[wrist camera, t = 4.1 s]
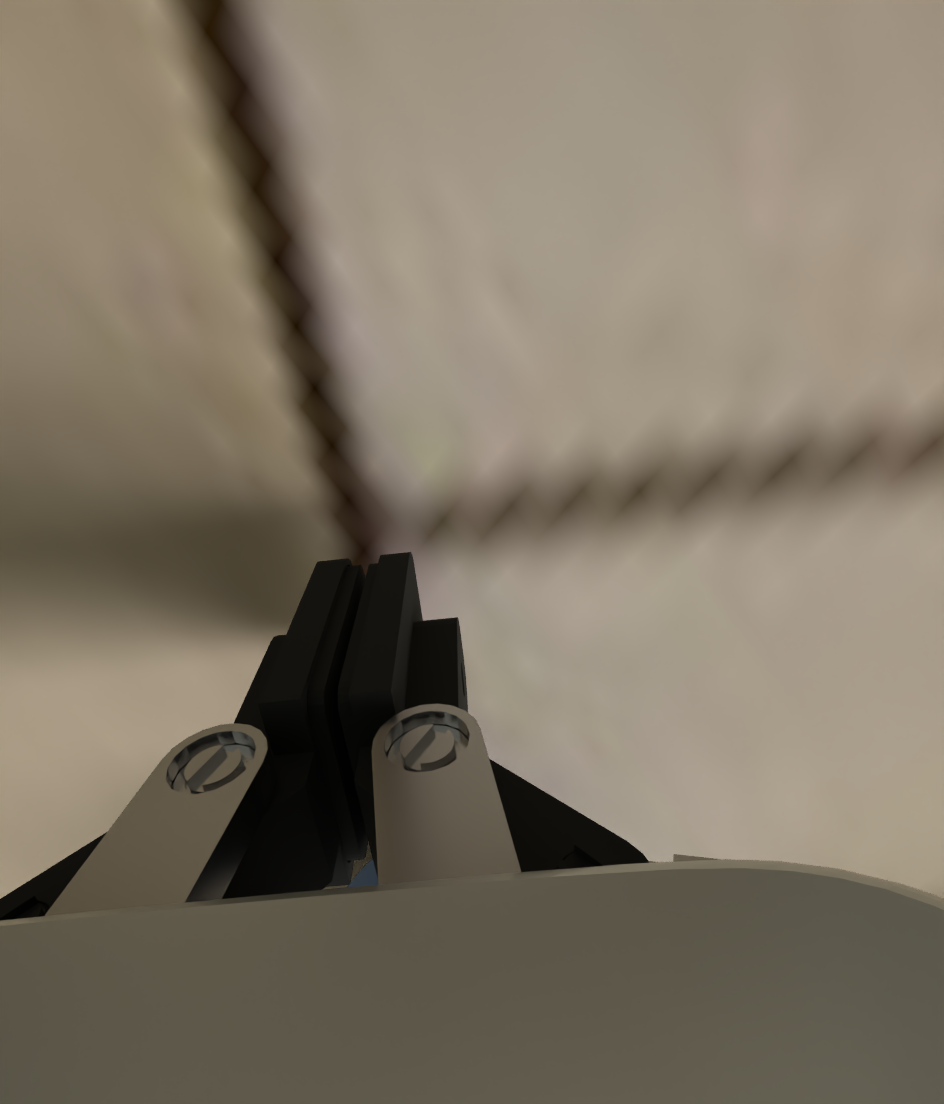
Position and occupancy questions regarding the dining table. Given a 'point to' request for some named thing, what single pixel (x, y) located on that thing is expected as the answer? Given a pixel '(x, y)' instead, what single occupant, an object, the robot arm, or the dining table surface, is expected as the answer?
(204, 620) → the dining table surface
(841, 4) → the dining table surface
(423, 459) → the dining table surface
